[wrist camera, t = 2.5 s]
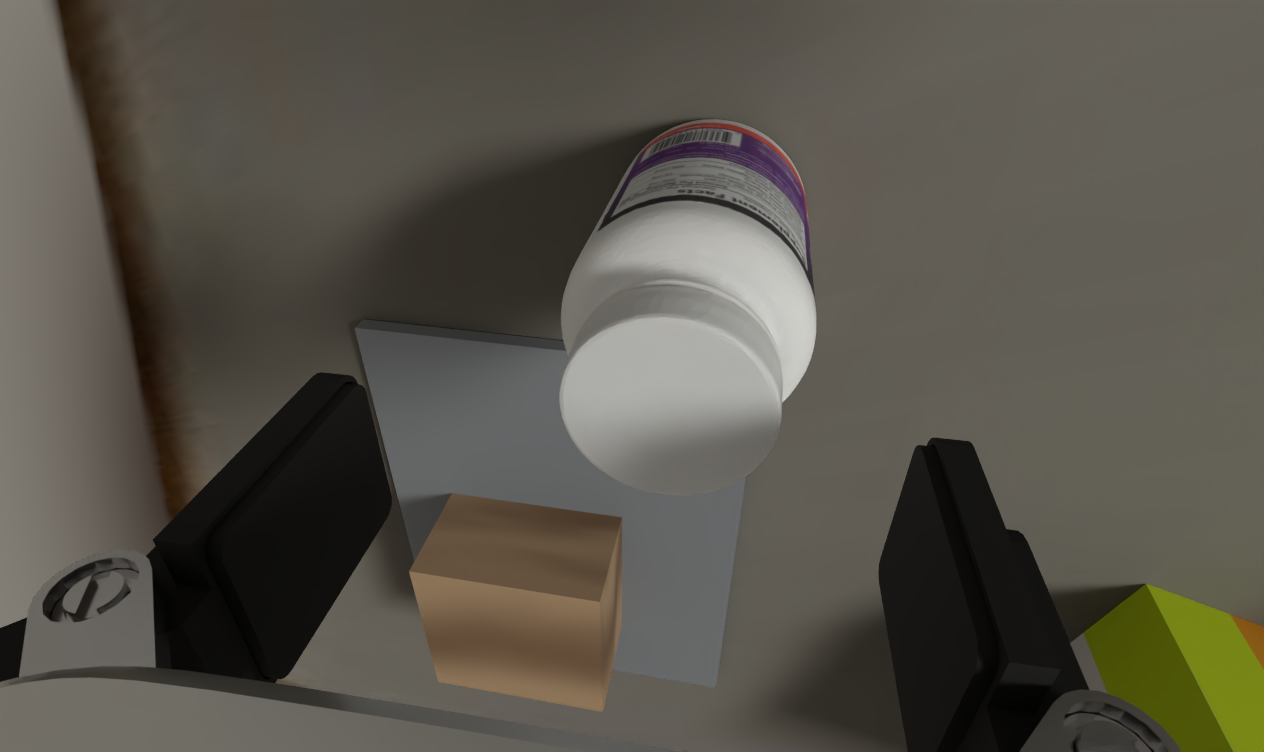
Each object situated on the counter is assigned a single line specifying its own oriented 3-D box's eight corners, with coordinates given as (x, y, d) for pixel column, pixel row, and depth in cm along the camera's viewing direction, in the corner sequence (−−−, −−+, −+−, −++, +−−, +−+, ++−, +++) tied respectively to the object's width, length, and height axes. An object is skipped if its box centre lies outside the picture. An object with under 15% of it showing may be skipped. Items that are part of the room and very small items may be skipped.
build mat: (362, 319, 25) (354, 327, 24) (761, 362, 23) (761, 372, 22) (438, 628, 35) (433, 638, 34) (716, 676, 33) (715, 687, 32)
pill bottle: (733, 324, 22) (705, 563, 14) (588, 232, 21) (472, 433, 13) (849, 186, 19) (894, 395, 11) (686, 72, 18) (609, 211, 10)
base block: (452, 493, 28) (409, 571, 25) (622, 517, 27) (600, 602, 24) (473, 602, 32) (438, 681, 29) (621, 626, 31) (602, 711, 28)
